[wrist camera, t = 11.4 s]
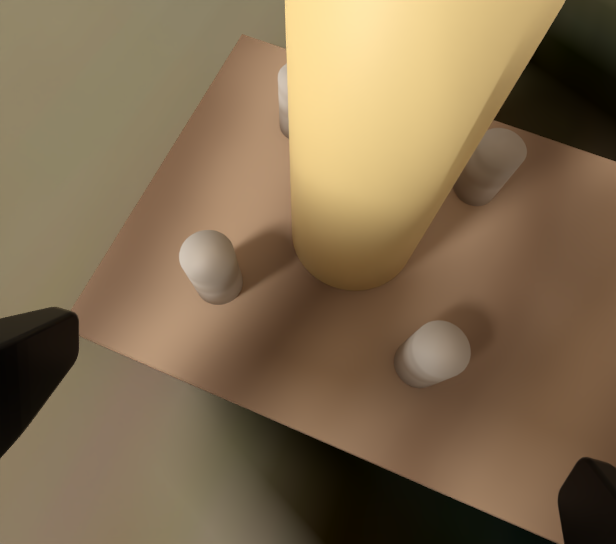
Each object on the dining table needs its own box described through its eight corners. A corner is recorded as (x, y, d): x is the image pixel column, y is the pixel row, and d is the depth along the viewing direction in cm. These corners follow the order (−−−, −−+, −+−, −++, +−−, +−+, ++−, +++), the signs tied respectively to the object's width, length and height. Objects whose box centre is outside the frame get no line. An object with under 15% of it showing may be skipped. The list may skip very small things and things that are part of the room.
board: (76, 334, 16) (17, 305, 13) (244, 56, 21) (235, -22, 17) (848, 669, 13) (1043, 749, 10) (839, 262, 18) (970, 220, 15)
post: (309, 304, 15) (333, 29, 5) (279, 194, 17) (249, -191, 7) (431, 273, 16) (674, -35, 6) (390, 169, 17) (525, -226, 7)
